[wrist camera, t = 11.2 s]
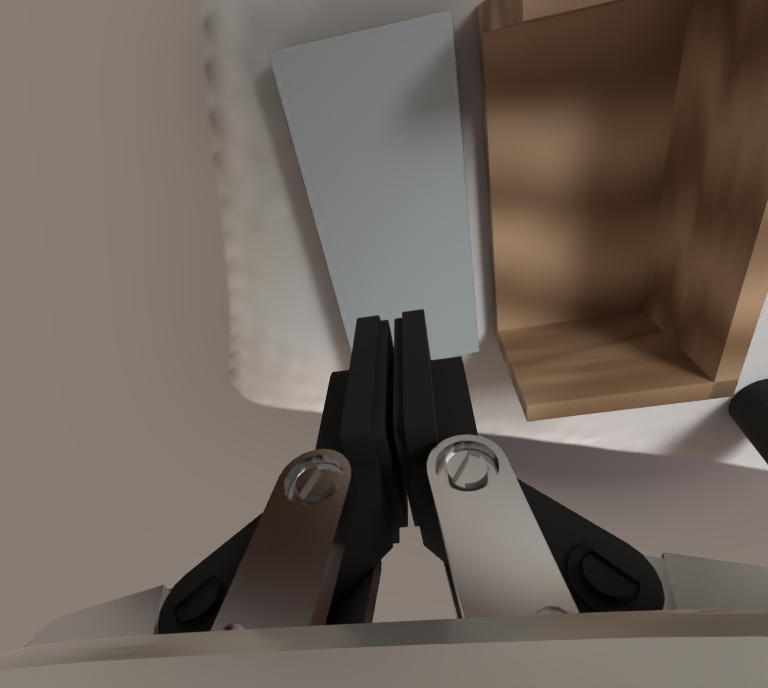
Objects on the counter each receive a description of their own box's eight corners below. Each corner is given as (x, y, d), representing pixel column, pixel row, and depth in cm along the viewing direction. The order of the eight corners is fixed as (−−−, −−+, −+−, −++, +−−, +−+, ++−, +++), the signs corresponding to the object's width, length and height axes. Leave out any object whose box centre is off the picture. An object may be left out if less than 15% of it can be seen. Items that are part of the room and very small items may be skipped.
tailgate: (446, 12, 21) (270, 52, 22) (451, 9, 20) (267, 51, 21) (475, 342, 32) (357, 367, 32) (479, 351, 31) (358, 376, 31)
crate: (477, 5, 22) (522, -25, 14) (713, -50, 20) (901, -116, 13) (495, 337, 32) (527, 421, 25) (650, 314, 31) (732, 396, 23)
